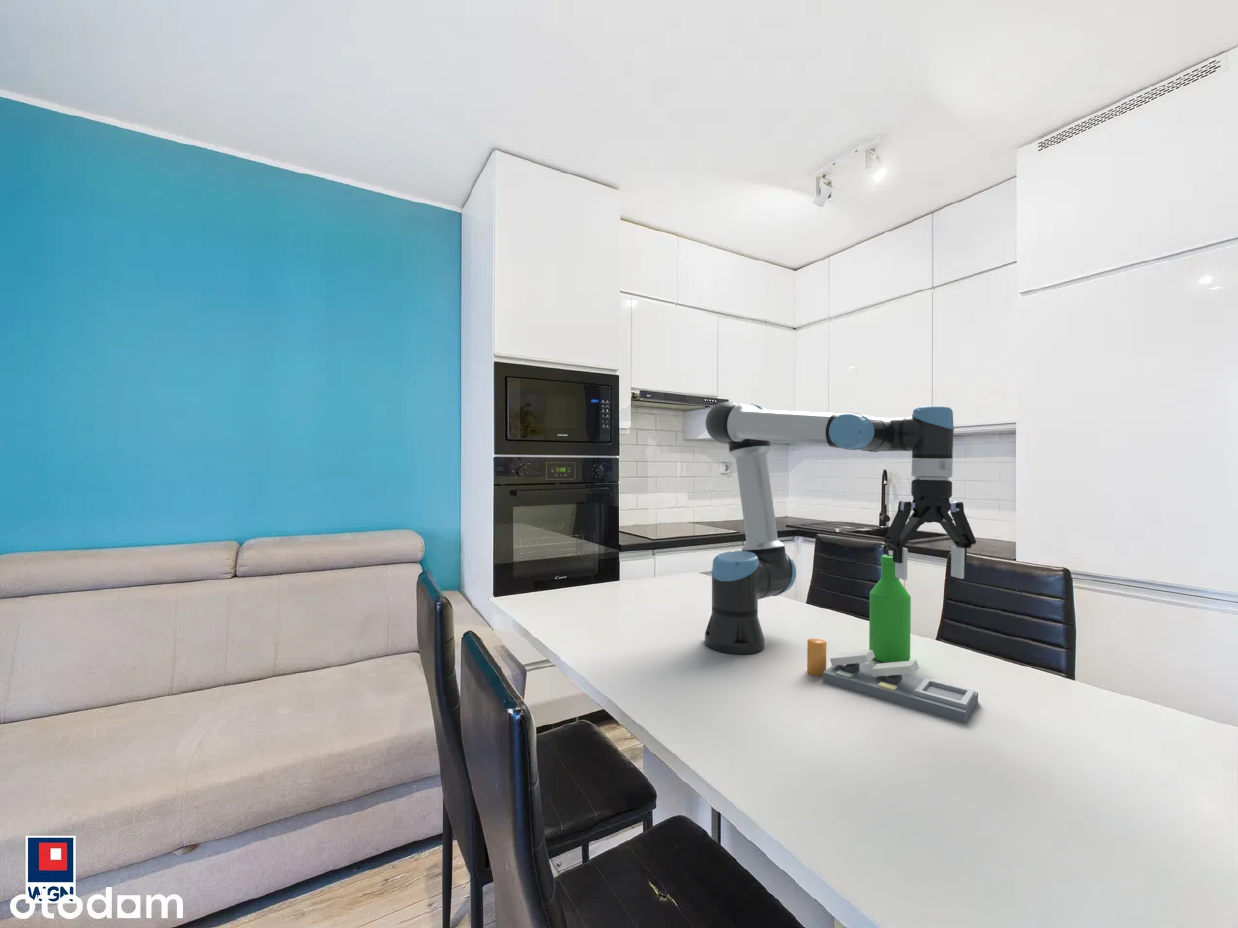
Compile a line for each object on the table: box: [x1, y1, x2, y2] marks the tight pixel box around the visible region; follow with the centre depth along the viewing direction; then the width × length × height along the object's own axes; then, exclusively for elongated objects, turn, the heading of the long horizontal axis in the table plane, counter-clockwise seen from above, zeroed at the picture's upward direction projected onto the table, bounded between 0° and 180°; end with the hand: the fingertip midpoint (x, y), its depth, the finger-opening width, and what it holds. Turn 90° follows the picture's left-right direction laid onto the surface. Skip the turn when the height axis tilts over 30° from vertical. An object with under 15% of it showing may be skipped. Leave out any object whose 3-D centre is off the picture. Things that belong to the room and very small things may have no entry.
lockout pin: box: [806, 638, 827, 677], centre depth 117 cm, size 4×4×7 cm
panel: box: [822, 662, 979, 724], centre depth 108 cm, size 26×12×3 cm, turn 46°
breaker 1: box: [829, 649, 875, 666], centre depth 114 cm, size 8×4×2 cm, turn 47°
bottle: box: [868, 554, 912, 663], centre depth 126 cm, size 9×9×25 cm
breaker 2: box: [870, 659, 920, 677], centre depth 108 cm, size 8×4×2 cm, turn 47°
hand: (929, 577), depth 112 cm, fingers open, 13 cm apart
